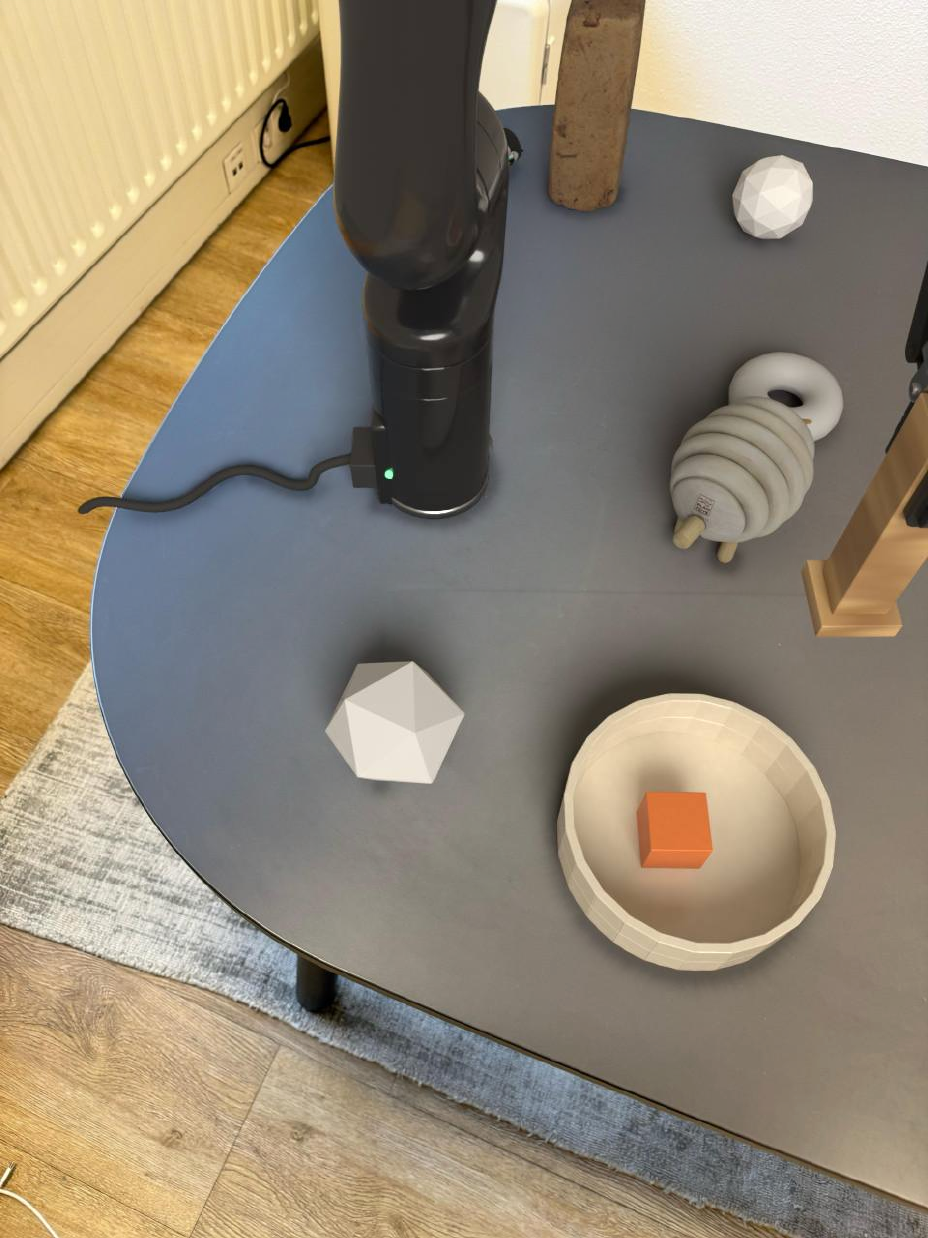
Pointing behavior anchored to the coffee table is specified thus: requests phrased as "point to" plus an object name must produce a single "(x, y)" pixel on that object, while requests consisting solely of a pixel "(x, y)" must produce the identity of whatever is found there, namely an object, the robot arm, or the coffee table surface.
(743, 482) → the toy sheep
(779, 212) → the geometric ball
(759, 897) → the bowl
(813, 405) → the donut
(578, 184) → the block
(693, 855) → the orange block
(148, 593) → the coffee table surface
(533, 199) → the coffee table surface
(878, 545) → the wooden pillar
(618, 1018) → the coffee table surface
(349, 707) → the die
